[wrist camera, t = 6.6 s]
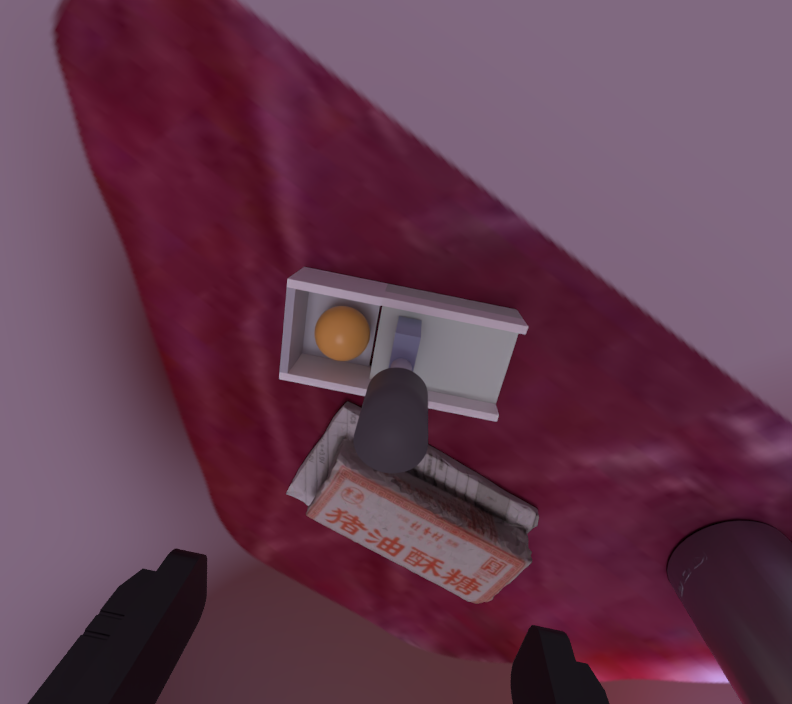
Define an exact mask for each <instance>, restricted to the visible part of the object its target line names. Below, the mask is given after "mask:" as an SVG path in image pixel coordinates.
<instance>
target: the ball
mask: <svg viewBox="0 0 792 704" xmlns="http://www.w3.org/2000/svg"><path fill="white" fill-rule="evenodd" d="M314 336H315V341H316V344H317V346H318V348H319V349H320V351H321V352H322V353H323V354H324V355H326V356H327V357H329V358H331V359H333V360H337V361H348V360H352V359H354V358H356V357H358V356H359V355H360V354H362V353H363V352H364V350H365V349H366V347H367V345H368V343H369V340H370V328H369V324H368V322H367V320H366V318H365V317H364V316H363V314H361V313H360V312H359V311H358V310H356V309H354V308H352V307H348V306H336V307H333V308H330V309H328V310H326V311H325V312H324V313H323V314H322V315H321V316H320V317H319V319H318V321H317V323H316V326H315V331H314Z"/></svg>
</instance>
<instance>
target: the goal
mask: <svg viewBox="0 0 792 704" xmlns="http://www.w3.org/2000/svg"><path fill="white" fill-rule="evenodd" d="M387 285H388V283H383V282H378V281H373V280H368V279H363V278H358V277H353V276H348V275H343V274H338V273H333V272H328V271H323V270H318V269H313V268H308V267H303V268H302V269H300V270H299V271H298V272H296V273H295V274H293V275H292V276H291V277H289V278H288V280H287V292H286V303H285V315H284V327H283V338H282V350H281V362H280V374H279V379H281V380H286V381H291V382H296V383H301V384H306V385H311V386H316V387H321V388H326V389H331V390H336V391H341V392H346V393H351V394H356V395H361V396H365V393H366V388H367V385H368V381H369V377H370V372H371V366H369V365H370V359H371V354H372V348H373V343H374V337H375V331H376V326H377V320H378V315H379V309H380V306H381V304H382V299H383V295H384V293H385V290H386V287H387ZM336 306H348V307H352V308H354V309H356V310H358V311H359V312H360V313H361V314H363V316H364V317H365V318H366V320H367V322H368V324H369V328H370V340H369V343H368V345H367V347H366V349H365V350H364V352H363V353H362V354H360V355H359V356H358V357H356V358H354V359H352V360H348V361H337V360H333V359H331V358H329V357H327V356H326V355H324V354H323V353H322V352H321V351H320V349H319V348H318V346H317V344H316V341H315V336H314V331H315V326H316V323H317V321H318V319H319V317H320V316H321V315H322V314H323V313H324V312H325V311H326V310H328V309H330V308H333V307H336Z"/></svg>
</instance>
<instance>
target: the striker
mask: <svg viewBox="0 0 792 704" xmlns="http://www.w3.org/2000/svg"><path fill="white" fill-rule="evenodd" d="M421 323H422V320H417V319H412V318H407V317H402V316H399V318H398V323H397V328H396V332H395V337H394V342H393V347H392V352H391V358H390V363H389V368H388V369H385V370H382V371H380V372H379V373H377V374H376V375H375V376H374V377H373V378H372V379H371V381H370V383H369V385H368V388H367V391H366V395H365V398H364V402H363V405H362V409H361V412H360V416H359V419H358V422H357V426H356V429H355V433H354V439H353V441H354V448H355V450H356V453H357V455H358V456H359V458H360V459H361V460H362V461H363V462H364V463H365V464H366V465H368V466H369V467H371V468H373V469H375V470H377V471H380V472H384V473H401V472H405V471H408V470H410V469H412V468H414V467H415V466H417V465H418V464H419V463H420V462H421V461H422V460H423V458H424V457H425V455H426V452H427V448H428V391H427V387H426V385H425V383H424V381H423V380H422V379H421V377H419V376H418V375H417V374H416V373H414V372H413V370H414V366H415V361H416V357H417V352H418V348H419V344H420V339H421Z"/></svg>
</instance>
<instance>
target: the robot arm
mask: <svg viewBox="0 0 792 704" xmlns="http://www.w3.org/2000/svg"><path fill="white" fill-rule="evenodd" d="M667 573H668V579H669V581H670V583H671V585H672V587H673V588H674V590H675V592H676V594H677V595H678V597H679V599H680V600H681V602H682V604H683V605H684V607H685V609H686V610H687V612H688V614H689V615H690V617H691V619H692V620H693V622H694V624H695V625H696V627H697V629H698V631H699V632H700V634H701V636H702V637H703V639H704V641H705V642H706V644H707V646H708V647H709V649H710V651H711V652H712V654H713V656H714V657H715V659H716V661H717V662H718V664H719V666H720V668H721V669H722V671H723V673H724V674H725V676H726V678H727V679H728V681H729V683H730V684H731V686H732V688H733V689H734V691H735V692H736V694H737V696H738V698H739V699H740V701H741V703H742V704H792V542H791V541H790V540H789V539H788V538H787V537H786V536H785V535H784V534H782V533H781V532H780V531H778V530H777V529H776V528H774V527H771V526H769V525H767V524H764V523H759V522H754V521H730V522H723V523H720V524H716V525H712V526H709V527H707V528H704V529H702V530H700V531H698V532H696V533H694V534H693V535H691V536H689V537H688V538H687V539H686V540H684V541H683V542H682V543H681V544H680V545H679V546H678V547H677V548H676V550H675V551H674V552H673V553H672V556H671V558H670V560H669V562H668V568H667ZM206 596H207V556H206V555H204V554H199V553H194V552H189V551H185V550H180V549H174V550H172V551H171V552H170V553H169V554H168V556H167V557H166V558H165V560H164V561H163V563H162V564H161V565H160V567H159V568H158V570H157V571H151V570H147V569H142V570H140V571H139V572H138V573H136V574H135V575H134V576H132V577H131V578H130V579H128V580H127V581H126V582H124V583H123V584H122V585H120V586H119V587H118V588H117V590H116V591H115V592H114V593H113V595H112V596H111V597H110V598H109V600H108V601H107V602H106V604H105V605H104V606H103V607H102V609H101V611H100V613H99V614H98V615H96V616H95V618H94V619H93V620H92V622H91V623H90V624H89V625H88V627H87V628H86V629H85V632H84V634H83V635H81V636H80V637H79V638H78V639H77V641H76V642H75V643H74V645H73V646H72V647H71V649H70V650H69V651H68V652H67V654H66V655H65V656H64V657H63V659H62V660H61V661H60V663H59V664H58V665H57V666H56V668H55V669H54V670H53V672H52V673H51V674H50V675H49V677H48V678H47V679H46V681H45V682H44V683H43V684H42V686H41V687H40V688H39V690H38V691H37V692H36V693H35V695H34V696H33V697H32V699H31V700H30V701H29V703H28V704H155V703H156V701H157V699H158V697H159V696H160V694H161V692H162V690H163V688H164V686H165V684H166V682H167V681H168V679H169V677H170V675H171V673H172V671H173V669H174V668H175V666H176V664H177V662H178V660H179V658H180V656H181V654H182V653H183V651H184V649H185V647H186V645H187V643H188V641H189V639H190V638H191V636H192V634H193V632H194V630H195V628H196V626H197V624H198V622H199V620H200V618H201V615H202V612H203V609H204V606H205V602H206ZM511 694H512V700H513V704H609V701H608V699H607V696H606V693H605V690H604V689H603V687H602V686H601V684H600V682H599V681H598V679H597V678H596V676H595V675H594V673H593V671H592V670H591V668H590V667H589V665H588V664H586V663H581V662H576V660H575V657H574V653H573V650H572V647H571V643H570V640H569V638H568V636H567V635H566V633H565V632H563V631H559V630H554V629H549V628H544V627H540V626H535V625H532V626H531V627H530V628H529V630H528V632H527V634H526V636H525V639H524V641H523V643H522V645H521V647H520V649H519V651H518V653H517V655H516V658H515V660H514V662H513V665H512V671H511Z"/></svg>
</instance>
